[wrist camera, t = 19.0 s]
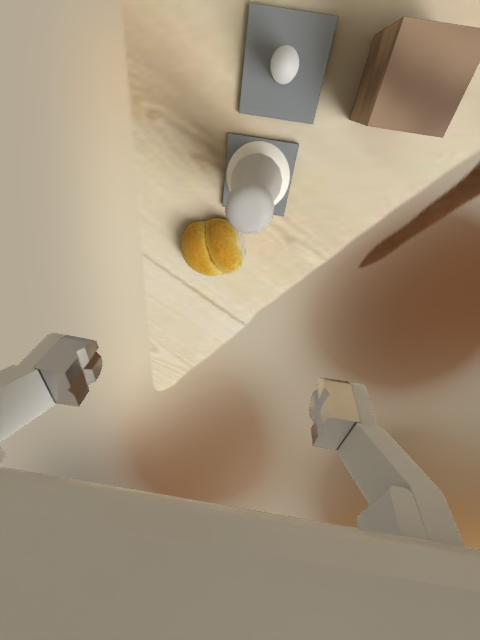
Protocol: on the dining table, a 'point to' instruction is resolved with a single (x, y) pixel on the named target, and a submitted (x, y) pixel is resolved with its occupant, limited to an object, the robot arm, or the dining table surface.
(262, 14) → the board
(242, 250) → the bread roll
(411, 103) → the brown wooden block
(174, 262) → the dining table surface
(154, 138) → the dining table surface
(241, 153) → the board
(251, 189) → the salt shaker
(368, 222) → the dining table surface
